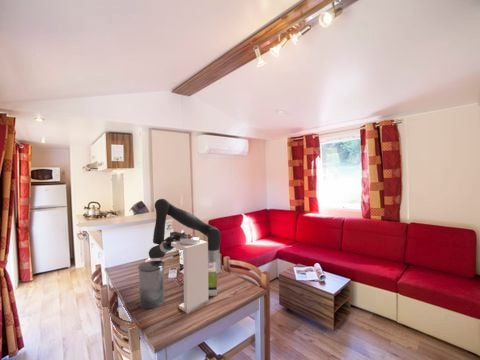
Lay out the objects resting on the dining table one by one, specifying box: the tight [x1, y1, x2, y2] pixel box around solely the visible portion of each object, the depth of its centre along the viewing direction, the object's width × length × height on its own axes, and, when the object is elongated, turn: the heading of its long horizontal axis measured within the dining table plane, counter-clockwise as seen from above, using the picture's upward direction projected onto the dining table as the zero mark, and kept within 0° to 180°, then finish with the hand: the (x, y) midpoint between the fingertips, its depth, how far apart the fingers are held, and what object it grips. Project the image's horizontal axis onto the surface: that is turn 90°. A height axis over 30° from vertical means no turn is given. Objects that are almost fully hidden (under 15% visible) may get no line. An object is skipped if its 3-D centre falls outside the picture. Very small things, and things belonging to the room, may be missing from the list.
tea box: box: [208, 262, 218, 297], centre depth 141 cm, size 15×10×15 cm, turn 5°
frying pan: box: [143, 253, 180, 263], centre depth 188 cm, size 32×13×6 cm, turn 128°
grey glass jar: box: [137, 261, 165, 310], centre depth 127 cm, size 14×14×21 cm
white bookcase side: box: [171, 239, 210, 314], centre depth 126 cm, size 15×14×34 cm
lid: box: [169, 231, 201, 245], centre depth 130 cm, size 24×11×4 cm, turn 47°
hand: (181, 234), depth 132 cm, fingers closed on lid, 3 cm apart
